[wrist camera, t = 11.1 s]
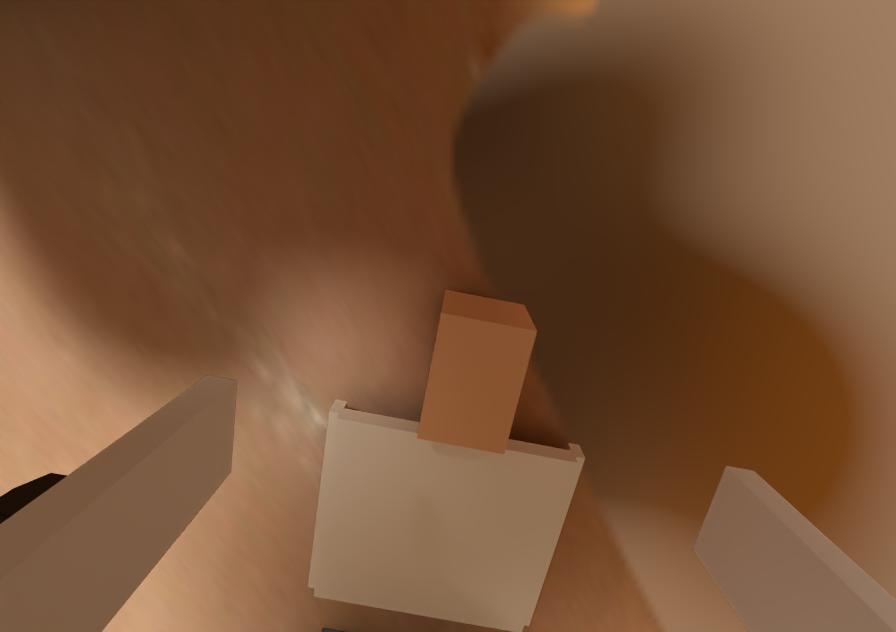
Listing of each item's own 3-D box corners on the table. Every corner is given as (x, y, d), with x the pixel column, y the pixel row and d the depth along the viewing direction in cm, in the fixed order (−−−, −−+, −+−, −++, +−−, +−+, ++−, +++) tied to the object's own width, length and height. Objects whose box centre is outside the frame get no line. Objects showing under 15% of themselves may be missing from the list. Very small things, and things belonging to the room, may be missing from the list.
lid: (355, 271, 22) (332, 291, 18) (612, 321, 22) (643, 351, 18) (318, 558, 27) (294, 620, 23) (524, 595, 27) (534, 662, 24)
